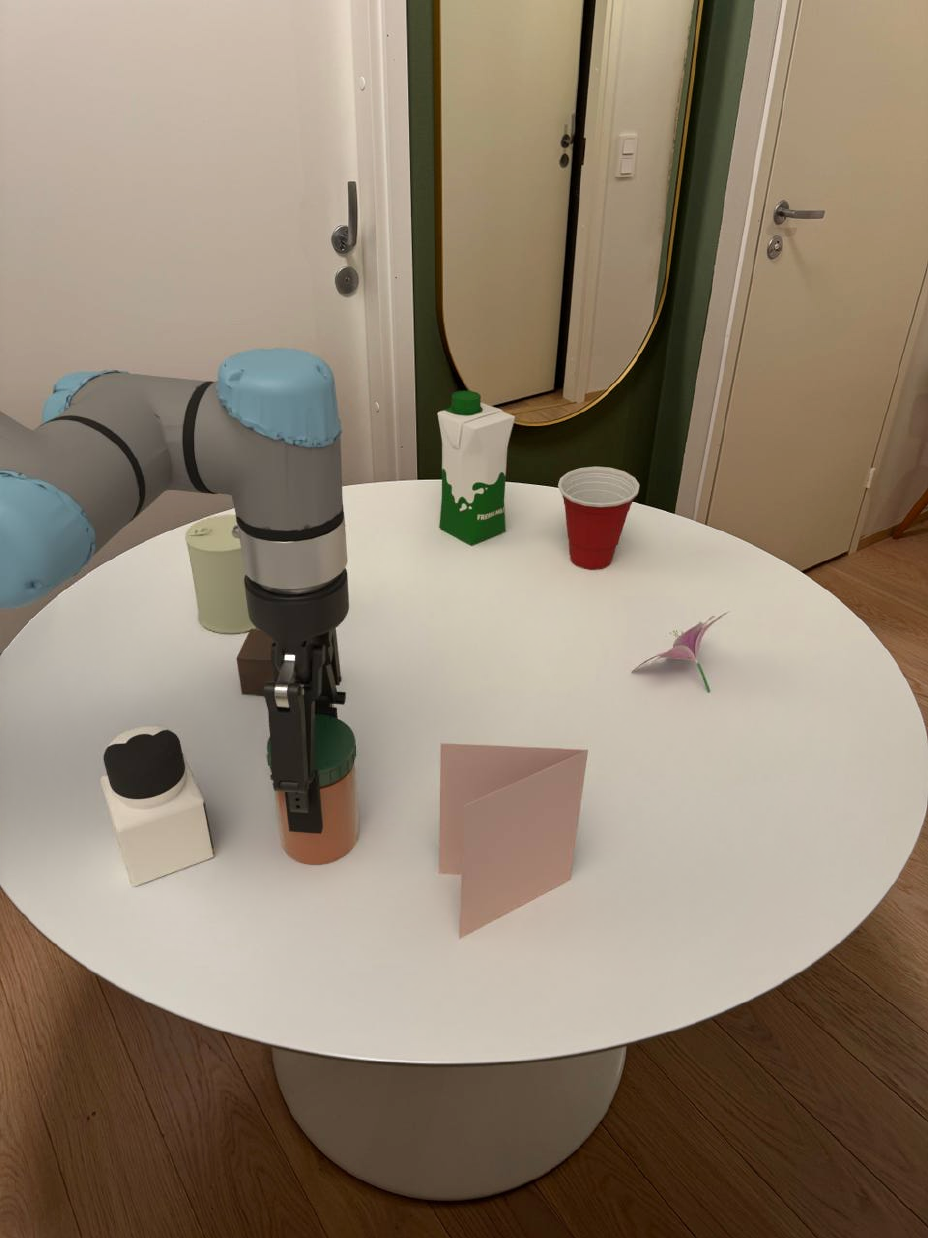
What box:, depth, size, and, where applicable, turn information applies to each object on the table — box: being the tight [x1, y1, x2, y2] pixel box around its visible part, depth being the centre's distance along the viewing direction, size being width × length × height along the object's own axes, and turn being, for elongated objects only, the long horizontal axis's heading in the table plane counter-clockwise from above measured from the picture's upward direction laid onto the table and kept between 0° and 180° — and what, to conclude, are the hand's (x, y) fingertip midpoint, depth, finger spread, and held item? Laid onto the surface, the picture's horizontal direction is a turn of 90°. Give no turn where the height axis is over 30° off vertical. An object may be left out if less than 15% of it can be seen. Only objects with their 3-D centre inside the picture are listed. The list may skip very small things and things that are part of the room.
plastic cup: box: [557, 466, 640, 571], centre depth 120 cm, size 11×11×12 cm
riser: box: [236, 628, 275, 697], centre depth 97 cm, size 6×6×5 cm
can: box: [184, 514, 257, 635], centre depth 106 cm, size 9×9×12 cm
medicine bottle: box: [100, 725, 215, 887], centre depth 74 cm, size 7×7×12 cm
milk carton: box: [436, 390, 516, 546], centre depth 124 cm, size 9×9×20 cm
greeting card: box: [438, 742, 589, 940], centre depth 69 cm, size 11×7×15 cm, turn 88°
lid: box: [266, 714, 358, 787], centre depth 74 cm, size 7×7×2 cm
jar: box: [274, 763, 360, 866], centre depth 76 cm, size 7×7×10 cm
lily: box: [632, 610, 731, 693], centre depth 99 cm, size 12×12×10 cm
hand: (316, 795), depth 77 cm, fingers closed on lid, 7 cm apart
